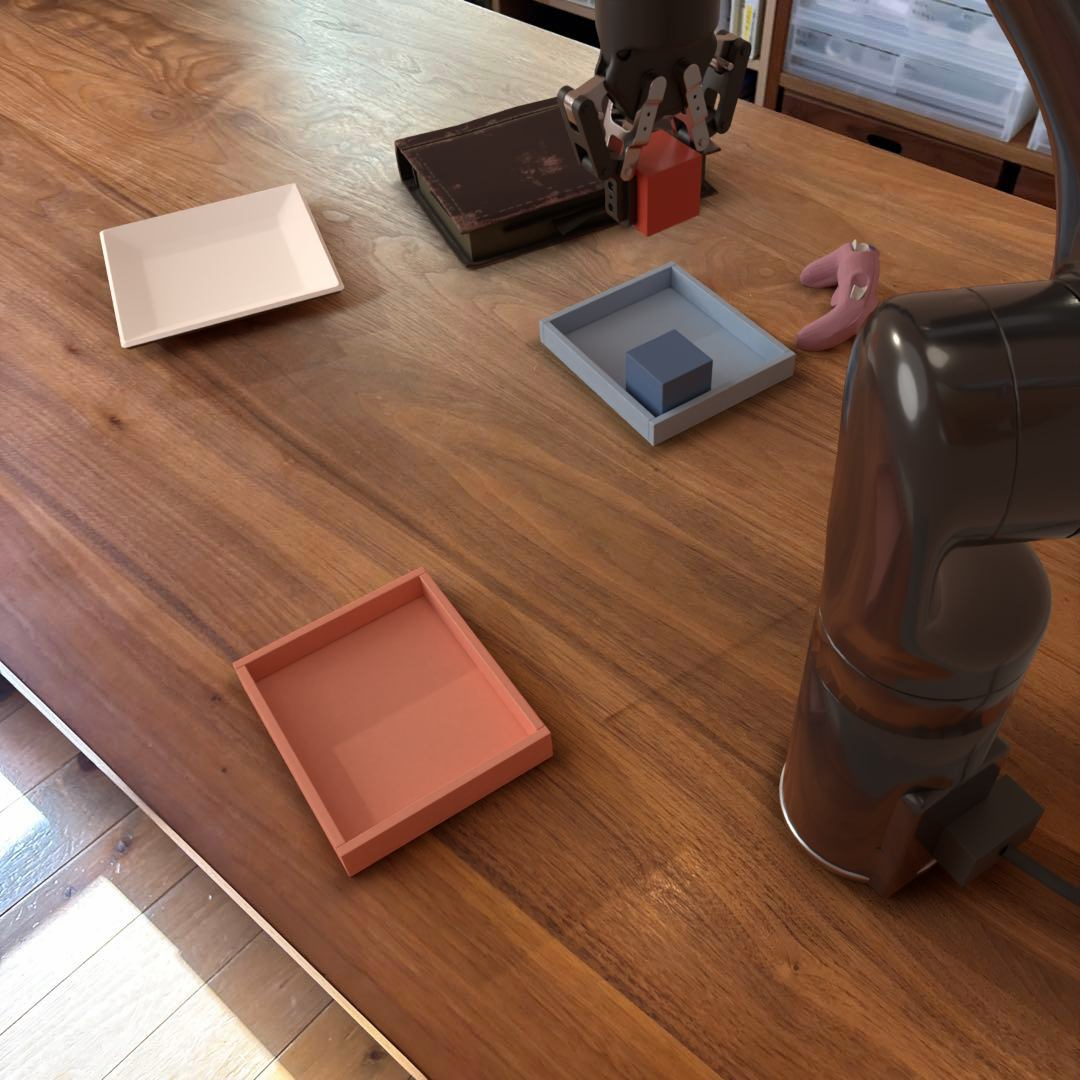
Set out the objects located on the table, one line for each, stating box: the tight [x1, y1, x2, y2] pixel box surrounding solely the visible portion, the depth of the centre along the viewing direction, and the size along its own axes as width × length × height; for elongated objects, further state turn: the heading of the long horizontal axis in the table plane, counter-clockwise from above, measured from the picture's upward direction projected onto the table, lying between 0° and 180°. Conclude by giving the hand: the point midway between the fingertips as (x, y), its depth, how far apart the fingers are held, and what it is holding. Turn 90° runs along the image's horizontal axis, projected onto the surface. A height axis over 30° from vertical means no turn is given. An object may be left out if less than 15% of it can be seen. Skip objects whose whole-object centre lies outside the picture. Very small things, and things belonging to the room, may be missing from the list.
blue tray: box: [538, 260, 797, 447], centre depth 86 cm, size 15×13×2 cm
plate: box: [99, 182, 345, 350], centre depth 98 cm, size 19×19×2 cm
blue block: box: [626, 329, 713, 418], centre depth 81 cm, size 4×4×4 cm
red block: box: [620, 130, 702, 238], centre depth 75 cm, size 4×4×4 cm
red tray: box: [232, 566, 554, 878], centre depth 66 cm, size 15×13×2 cm
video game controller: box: [794, 239, 881, 352], centre depth 87 cm, size 10×5×7 cm, turn 168°
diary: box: [393, 95, 722, 269], centre depth 103 cm, size 19×25×5 cm
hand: (654, 208), depth 77 cm, fingers closed on red block, 4 cm apart
